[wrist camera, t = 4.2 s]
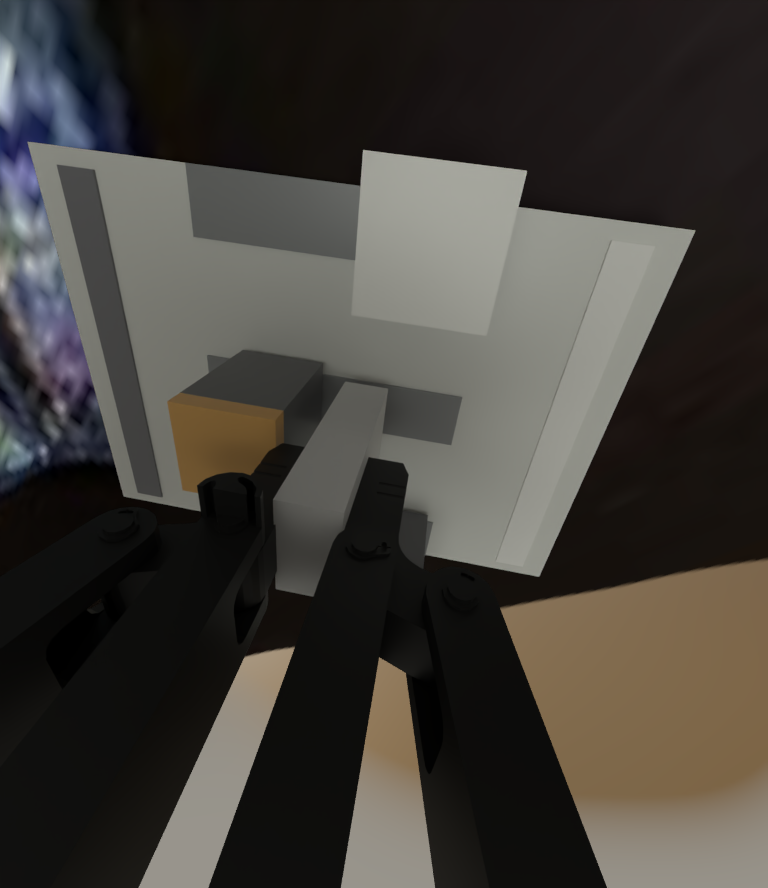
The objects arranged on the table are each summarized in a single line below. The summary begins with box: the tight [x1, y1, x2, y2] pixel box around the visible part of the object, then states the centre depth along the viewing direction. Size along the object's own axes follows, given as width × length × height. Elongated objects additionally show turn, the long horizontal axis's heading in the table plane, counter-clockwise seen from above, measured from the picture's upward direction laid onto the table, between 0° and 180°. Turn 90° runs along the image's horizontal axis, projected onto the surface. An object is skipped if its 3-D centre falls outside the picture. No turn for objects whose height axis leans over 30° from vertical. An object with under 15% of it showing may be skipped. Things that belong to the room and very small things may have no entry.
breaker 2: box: [399, 510, 428, 569], centre depth 16 cm, size 3×3×5 cm
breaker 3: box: [351, 150, 527, 336], centre depth 10 cm, size 3×3×5 cm
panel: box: [28, 142, 695, 577], centre depth 16 cm, size 20×14×2 cm
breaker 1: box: [167, 350, 323, 493], centre depth 14 cm, size 3×3×5 cm
